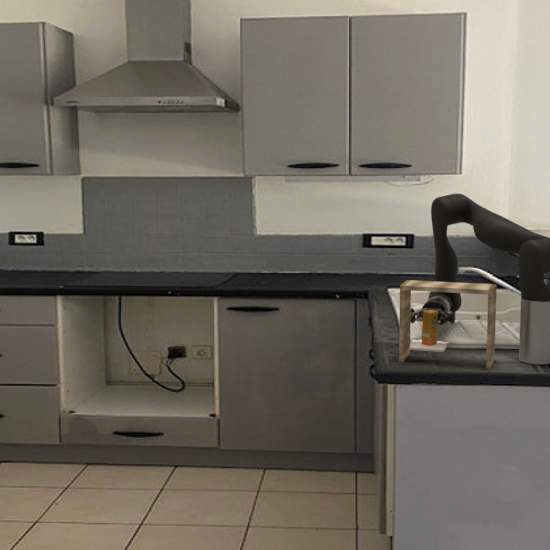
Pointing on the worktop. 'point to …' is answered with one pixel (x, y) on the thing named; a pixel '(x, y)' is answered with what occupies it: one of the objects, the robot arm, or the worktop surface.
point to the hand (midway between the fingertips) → (426, 320)
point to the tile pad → (428, 347)
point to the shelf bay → (451, 288)
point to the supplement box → (429, 327)
